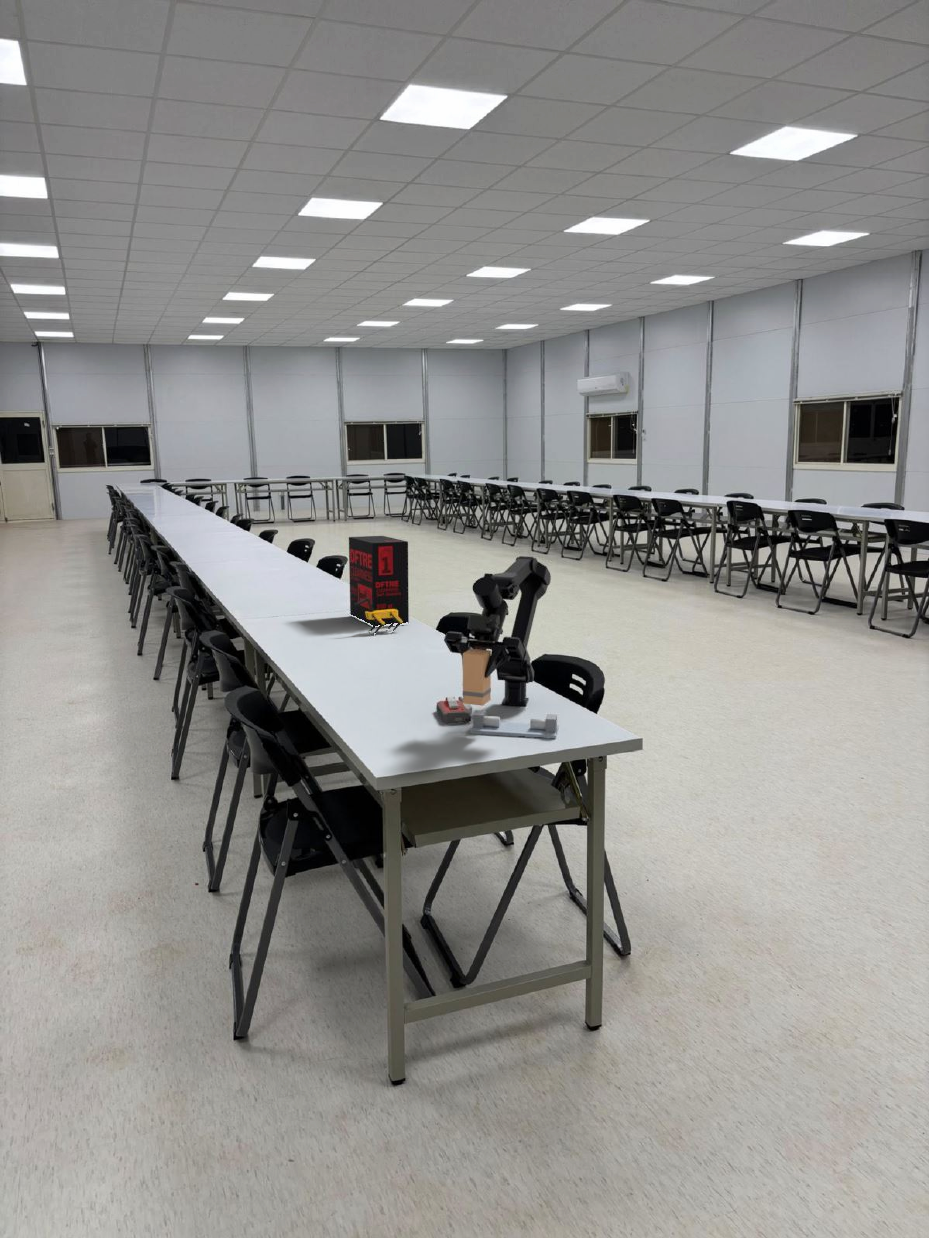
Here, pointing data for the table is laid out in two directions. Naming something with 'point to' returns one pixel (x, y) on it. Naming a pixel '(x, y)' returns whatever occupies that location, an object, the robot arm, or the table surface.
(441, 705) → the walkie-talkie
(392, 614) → the robot dog
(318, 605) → the table surface
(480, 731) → the grey holder base
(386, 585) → the product box
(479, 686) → the tan rectangular block
